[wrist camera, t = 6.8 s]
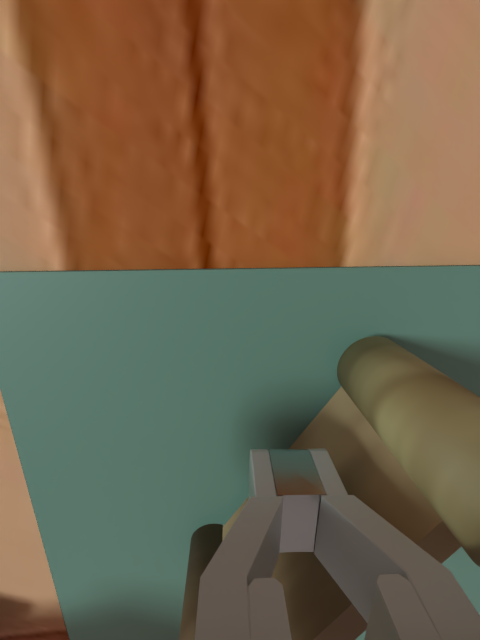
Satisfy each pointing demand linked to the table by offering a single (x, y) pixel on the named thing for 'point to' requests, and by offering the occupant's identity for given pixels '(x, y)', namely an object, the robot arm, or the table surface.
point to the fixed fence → (197, 573)
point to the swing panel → (389, 472)
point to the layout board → (190, 406)
